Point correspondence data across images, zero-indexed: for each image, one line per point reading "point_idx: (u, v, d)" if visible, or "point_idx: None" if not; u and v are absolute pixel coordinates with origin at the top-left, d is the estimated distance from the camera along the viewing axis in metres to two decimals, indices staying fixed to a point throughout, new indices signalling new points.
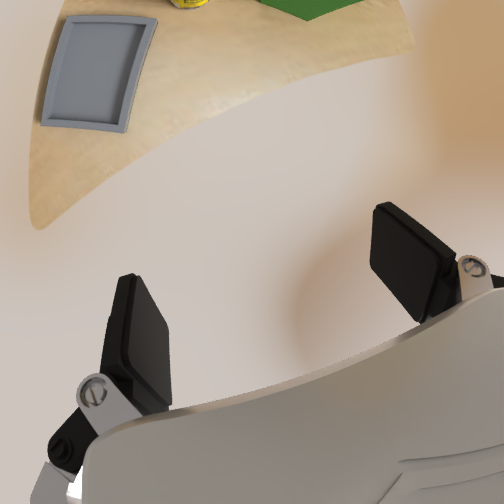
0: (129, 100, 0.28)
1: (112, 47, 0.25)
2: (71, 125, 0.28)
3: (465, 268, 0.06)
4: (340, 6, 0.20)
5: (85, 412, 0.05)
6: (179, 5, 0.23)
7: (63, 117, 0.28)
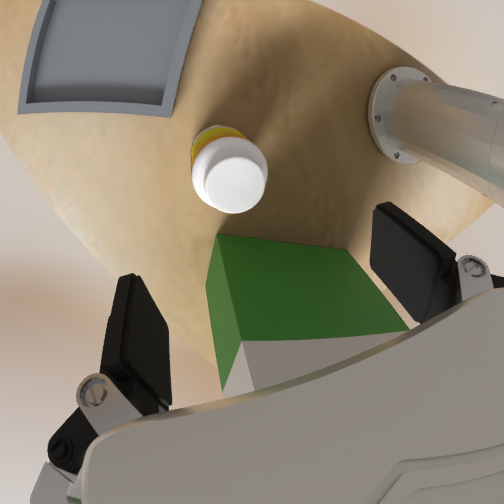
0: (52, 110, 0.18)
1: (133, 62, 0.19)
2: (33, 37, 0.13)
3: (465, 268, 0.06)
4: (215, 347, 0.26)
5: (85, 412, 0.05)
6: (193, 143, 0.23)
7: (51, 19, 0.13)
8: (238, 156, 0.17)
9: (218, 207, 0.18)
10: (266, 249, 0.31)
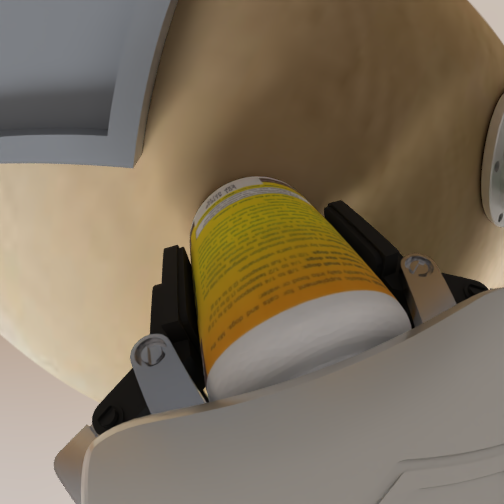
0: None
1: (52, 33, 0.05)
2: None
3: (410, 269, 0.07)
4: None
5: (142, 372, 0.06)
6: (196, 229, 0.10)
7: None
8: None
9: None
10: None
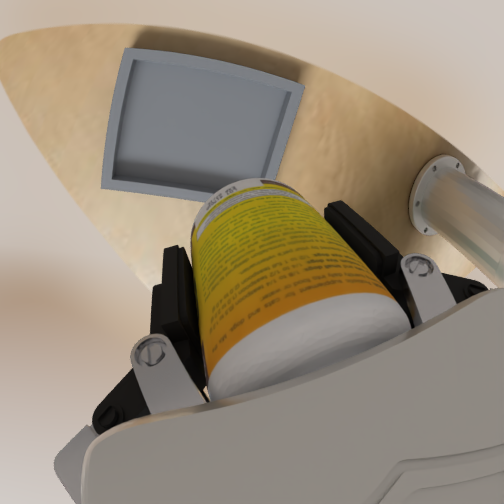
0: (145, 192, 0.24)
1: (229, 152, 0.25)
2: (114, 104, 0.19)
3: (410, 269, 0.07)
4: None
5: (142, 372, 0.06)
6: (196, 231, 0.10)
7: (132, 82, 0.19)
8: None
9: None
10: None
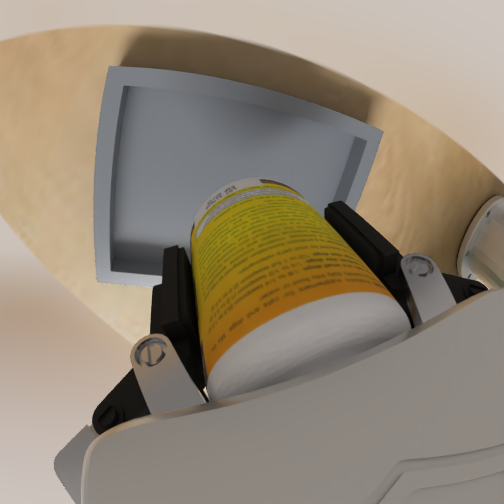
0: None
1: None
2: (100, 164, 0.12)
3: (410, 269, 0.07)
4: None
5: (142, 372, 0.06)
6: (196, 230, 0.10)
7: (125, 122, 0.13)
8: None
9: None
10: None
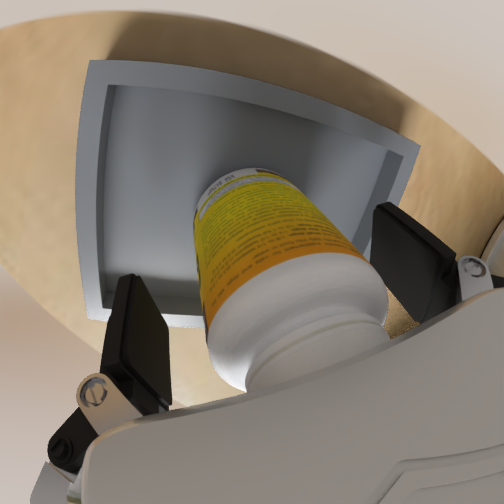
0: None
1: None
2: (82, 185, 0.10)
3: (465, 268, 0.07)
4: None
5: (85, 412, 0.05)
6: (199, 213, 0.11)
7: (112, 131, 0.10)
8: None
9: None
10: None
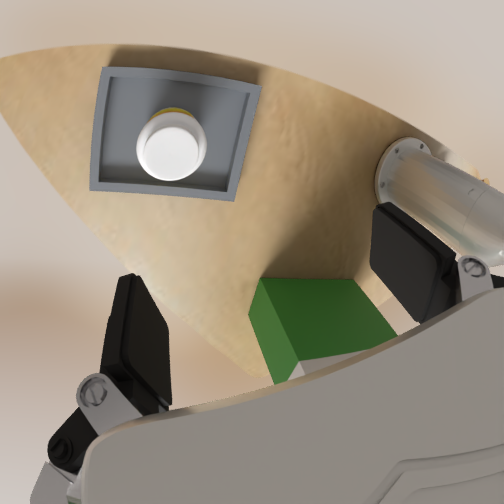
0: (128, 191, 0.27)
1: None
2: (97, 117, 0.21)
3: (465, 268, 0.07)
4: (267, 363, 0.36)
5: (85, 412, 0.05)
6: None
7: (110, 96, 0.22)
8: (171, 126, 0.17)
9: (156, 175, 0.18)
10: (297, 287, 0.40)
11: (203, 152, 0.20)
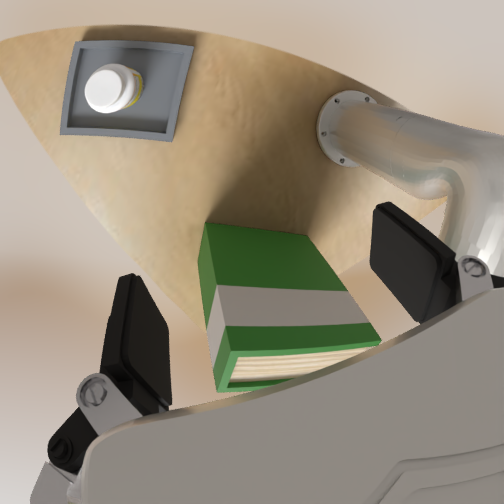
0: (88, 134, 0.29)
1: (145, 101, 0.30)
2: (69, 78, 0.24)
3: (465, 268, 0.06)
4: None
5: (85, 412, 0.05)
6: None
7: (81, 63, 0.24)
8: (104, 69, 0.19)
9: (92, 104, 0.20)
10: (241, 233, 0.42)
11: (130, 89, 0.22)
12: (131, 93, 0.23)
